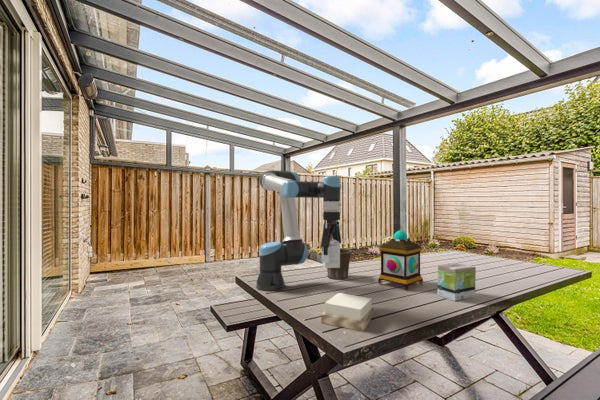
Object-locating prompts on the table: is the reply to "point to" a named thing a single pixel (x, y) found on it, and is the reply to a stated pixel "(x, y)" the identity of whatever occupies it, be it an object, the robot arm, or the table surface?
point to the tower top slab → (348, 306)
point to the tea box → (456, 281)
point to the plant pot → (341, 266)
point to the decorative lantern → (400, 261)
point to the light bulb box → (333, 255)
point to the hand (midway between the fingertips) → (331, 259)
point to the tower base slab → (347, 321)
